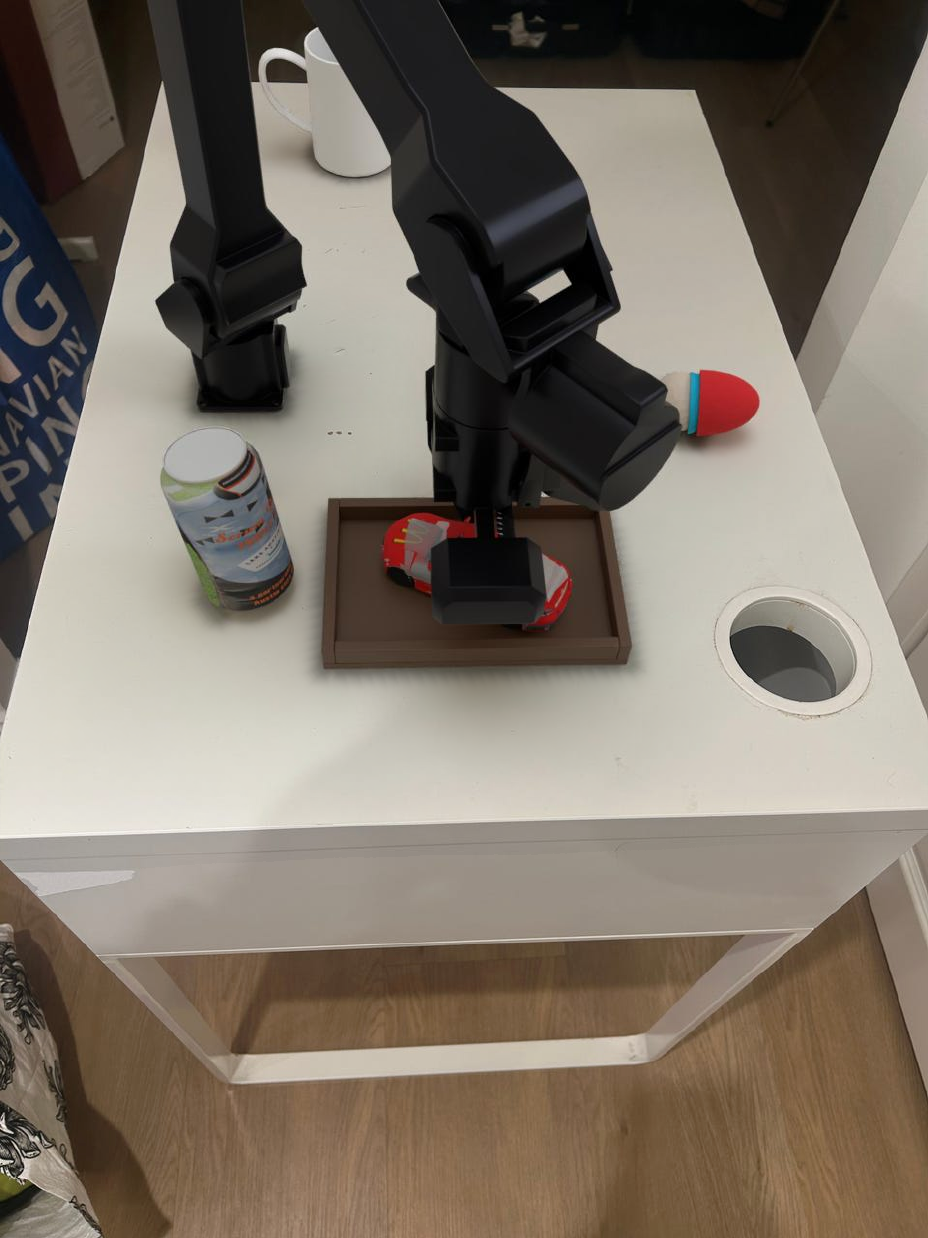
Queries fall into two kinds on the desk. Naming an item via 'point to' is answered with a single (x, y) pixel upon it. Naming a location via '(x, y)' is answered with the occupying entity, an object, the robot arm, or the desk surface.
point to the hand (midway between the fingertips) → (473, 568)
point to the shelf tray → (410, 637)
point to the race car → (422, 531)
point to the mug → (331, 112)
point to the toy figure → (711, 400)
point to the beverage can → (227, 517)
